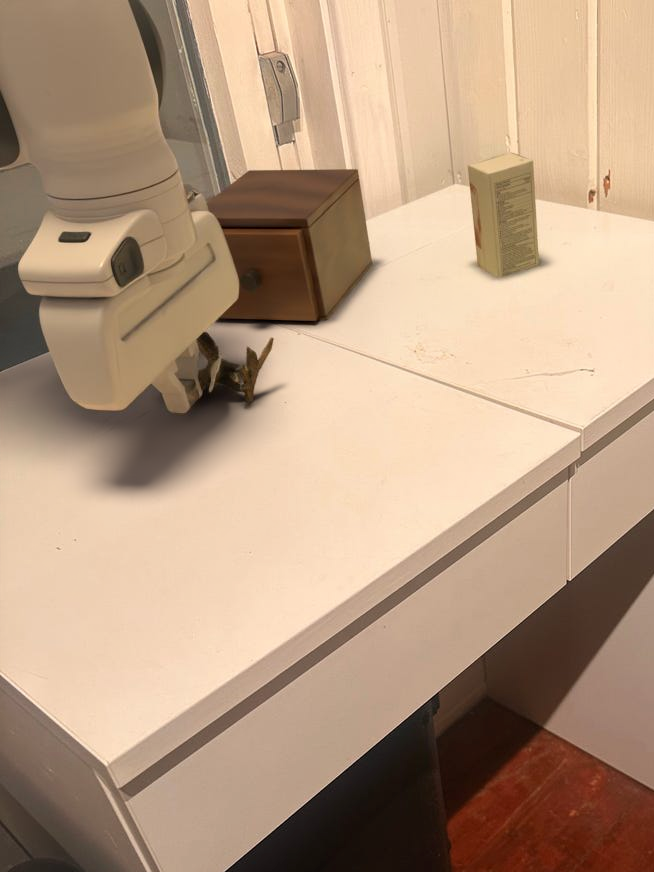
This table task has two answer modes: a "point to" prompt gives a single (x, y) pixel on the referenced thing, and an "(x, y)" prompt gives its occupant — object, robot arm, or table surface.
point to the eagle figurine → (230, 367)
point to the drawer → (271, 274)
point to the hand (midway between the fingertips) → (186, 404)
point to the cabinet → (307, 222)
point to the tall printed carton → (504, 213)
